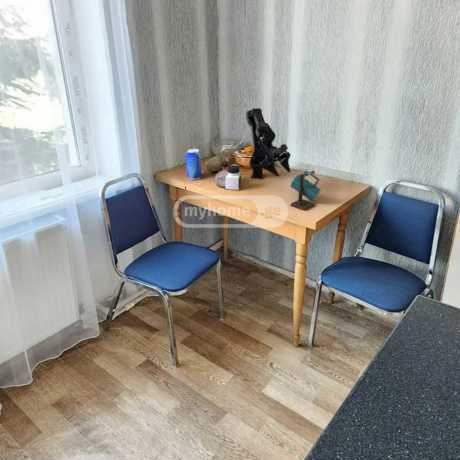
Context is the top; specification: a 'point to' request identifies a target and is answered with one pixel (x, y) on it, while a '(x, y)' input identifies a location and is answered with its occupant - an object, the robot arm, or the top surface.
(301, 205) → the mug stand
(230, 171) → the medicine bottle
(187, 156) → the beer can
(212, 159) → the brown rounded lump
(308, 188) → the mug
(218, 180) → the food item
